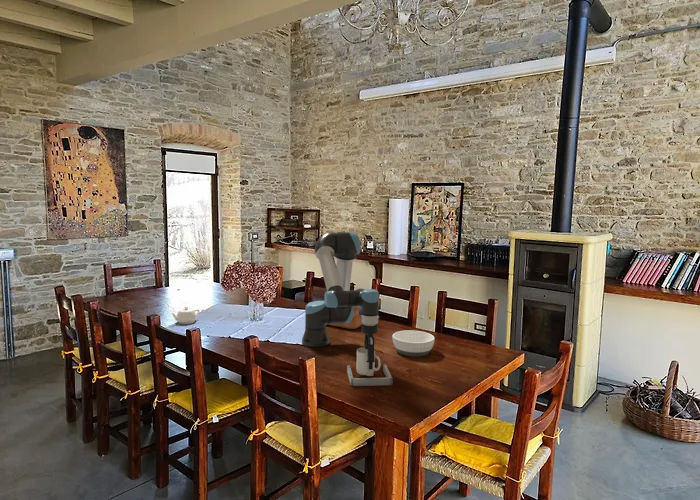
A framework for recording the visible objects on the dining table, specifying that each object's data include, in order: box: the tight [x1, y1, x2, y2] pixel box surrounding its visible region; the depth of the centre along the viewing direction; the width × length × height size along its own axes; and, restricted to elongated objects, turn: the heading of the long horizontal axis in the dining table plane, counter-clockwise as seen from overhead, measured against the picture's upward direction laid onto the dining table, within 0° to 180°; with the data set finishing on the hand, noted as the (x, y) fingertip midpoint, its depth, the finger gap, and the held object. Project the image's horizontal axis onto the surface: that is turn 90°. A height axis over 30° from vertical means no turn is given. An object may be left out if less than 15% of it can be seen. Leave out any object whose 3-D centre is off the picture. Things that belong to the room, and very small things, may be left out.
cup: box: [355, 347, 382, 376], centre depth 209 cm, size 8×12×10 cm
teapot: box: [171, 306, 200, 325], centre depth 294 cm, size 20×12×10 cm, turn 142°
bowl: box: [392, 329, 435, 358], centre depth 247 cm, size 22×22×8 cm
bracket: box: [346, 364, 394, 387], centre depth 209 cm, size 18×17×3 cm
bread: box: [326, 306, 362, 330], centre depth 295 cm, size 14×26×15 cm, turn 59°
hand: (368, 371), depth 211 cm, fingers closed on cup, 9 cm apart
